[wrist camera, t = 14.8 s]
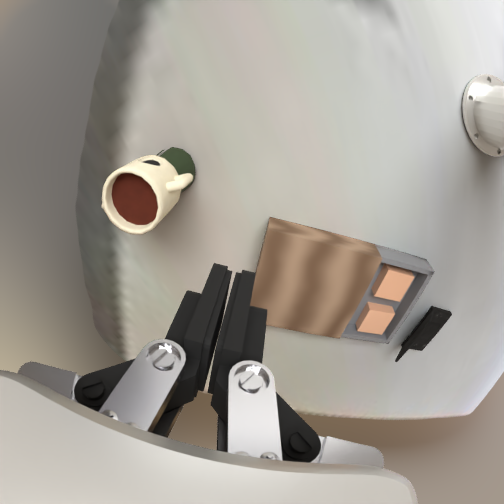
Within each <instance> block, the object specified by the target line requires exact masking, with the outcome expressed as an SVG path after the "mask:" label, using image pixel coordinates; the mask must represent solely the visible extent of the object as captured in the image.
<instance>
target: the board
mask: <svg viewBox="0 0 504 504" xmlns="http://www.w3.org/2000/svg"><path fill="white" fill-rule="evenodd" d="M381 261H382V257H381V255H380V253H379V251H378V249H377V247H376V245H375V244H372V243H368V242H365V241H361V240H357V239H354V238H350V237H346V236H343V235H339V234H335V233H331V232H328V231H324V230H320V229H316V228H312V227H308V226H304V225H300V224H296V223H292V222H288V221H284V220H280V219H276V218H272V217H270V218H269V222H268V226H267V230H266V234H265V238H264V242H263V245H262V249H261V253H260V257H259V261H258V265H257V269H256V272H255V273H256V275H255V281H254V286H253V292H252V298H251V303H250V306H254V307H259V308H263V309H267V322H266V325H270V326H275V327H279V328H284V329H289V330H295V331H300V332H305V333H310V334H316V335H322V336H327V337H333V338H340V337H341V335H342V333H343V332H344V330H345V328H346V326H347V325H348V323H349V321H350V320H351V318H352V316H353V314H354V312H355V311H356V309H357V307H358V305H359V303H360V302H361V300H362V298H363V296H364V294H365V292H366V290H367V288H368V287H369V285H370V283H371V281H372V279H373V277H374V275H375V273H376V271H377V269H378V267H379V265H380V263H381Z"/></svg>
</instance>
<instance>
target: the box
mask: <svg viewBox="0 0 504 504" xmlns="http://www.w3.org/2000/svg"><path fill="white" fill-rule="evenodd" d="M376 247H377V249H378V251H379V253H380V255H381V257H382V261H381V263H380V265H379V267H378V269H377V271H376V273H375V275H374V277H373V279H372V281H371V283H370V285H369V287H368V288H367V290H366V292H365V294H364V296H363V298H362V300H361V302H360V303H359V305H358V307H357V309H356V311H355V312H354V314H353V316H352V318H351V320H350V321H349V323H348V325H347V326H346V328H345V330H344V332H343V333H342V335H341V337H346V338H352V339H359V340H365V341H372V342H379V343H387V344H388V343H389V342H390V340H391V339H392V338H393V336H394V335H395V334H396V332H397V331H398V329H399V328H400V326H401V325H402V323H403V322H404V320H405V319H406V317H407V316H408V314H409V313H410V311H411V310H412V308H413V307H414V305H415V304H416V302H417V300H418V299H419V297H420V295H421V294H422V292H423V291H424V289H425V287H426V285H427V284H428V282H429V280H430V279H431V277H432V275H433V273H434V270H433V269H432V267H431V266H430V264H429V263H428V261H427V260H426V259H423V258H420V257H417V256H413V255H410V254H407V253H403V252H400V251H396V250H393V249H389V248H386V247H382V246H379V245H376ZM384 263H386V264H390V265H394V266H397V267H401V268H405V269H409V270H411V271H412V273H413V275H414V279H413V281H412V282H411V284H410V286H409V287H408V289H407V291H406V293H405V294H404V296H403V298H402V299H401V301H400V302H399V301H394V300H389V299H385V298H380V297H376V296H374V294H373V291H372V286H373V285H374V283H375V281H376V279H377V277H378V275H379V273H380V271H381V269H382V267H383V265H384ZM367 302H372V303H377V304H383V305H388V306H392V307H393V310H394V312H395V315H394V317H393V318H392V320H391V322H390V323H389V325H388V326H387V328H386V329H385V331H384V332H383V334H382V335H380V334H373V333H366V332H360V331H357V327H356V321H357V320H358V318H359V316H360V314H361V312H362V311H363V309H364V307H365V305H366V303H367Z"/></svg>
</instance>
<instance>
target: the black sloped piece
mask: <svg viewBox="0 0 504 504" xmlns="http://www.w3.org/2000/svg"><path fill="white" fill-rule="evenodd" d="M451 315H452V313H451V312H450V311H447V310H444V309H440V308H437V307H434V306H431V308H430V309H429V310H428V312H427V313H426V315H425V317H423V319H422V320H421V321H420V322H419V324H418V325H417V326H416V327H415V329H414V330H413V331H412V332H411V335H410V336H408V337H407V339H406V340H405V341H404V342H403V343H402V344H401V346H402V348H401V350H400V352H399V354H398V356H397V358H396V360H395V361H396V362H397V361H398V360H399V359H400V358H401V357H402V356H403V355H404V354H405V353H406V351H407V350H408V349H414V350H420V351H422V350H423V349H424V348H425V347H426V346H427V344H428V343H429V342H430V341H431V340H432V339H433V338H434V336H435V335H436V334H437V333H438V332H439V330H440V329H441V328H442V327H443V325H444V324H445V323H446V322H447V320H448V319H449V318H450V316H451Z"/></svg>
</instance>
